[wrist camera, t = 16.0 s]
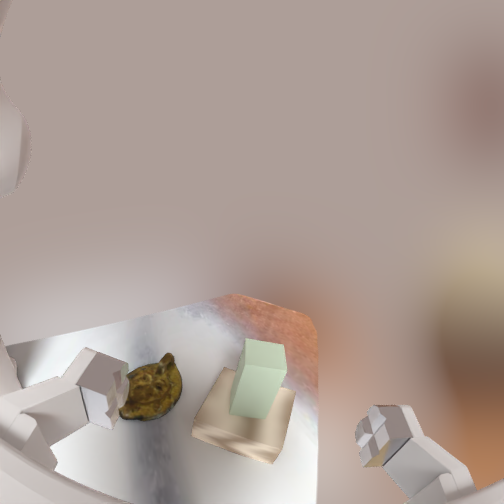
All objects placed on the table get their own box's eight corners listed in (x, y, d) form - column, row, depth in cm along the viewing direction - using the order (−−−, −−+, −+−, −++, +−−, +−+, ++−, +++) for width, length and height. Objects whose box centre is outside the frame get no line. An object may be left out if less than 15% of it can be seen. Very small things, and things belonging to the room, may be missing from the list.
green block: (229, 414, 36) (245, 364, 32) (230, 389, 40) (245, 338, 37) (265, 419, 36) (287, 370, 33) (263, 394, 41) (283, 344, 37)
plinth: (190, 437, 35) (194, 418, 34) (219, 387, 46) (224, 366, 45) (271, 465, 33) (282, 449, 32) (286, 410, 44) (295, 391, 43)
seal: (152, 440, 34) (193, 379, 48) (155, 425, 32) (199, 362, 46) (99, 406, 35) (147, 354, 49) (98, 388, 33) (151, 336, 47)
